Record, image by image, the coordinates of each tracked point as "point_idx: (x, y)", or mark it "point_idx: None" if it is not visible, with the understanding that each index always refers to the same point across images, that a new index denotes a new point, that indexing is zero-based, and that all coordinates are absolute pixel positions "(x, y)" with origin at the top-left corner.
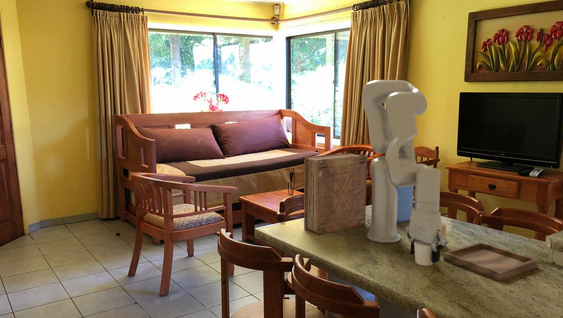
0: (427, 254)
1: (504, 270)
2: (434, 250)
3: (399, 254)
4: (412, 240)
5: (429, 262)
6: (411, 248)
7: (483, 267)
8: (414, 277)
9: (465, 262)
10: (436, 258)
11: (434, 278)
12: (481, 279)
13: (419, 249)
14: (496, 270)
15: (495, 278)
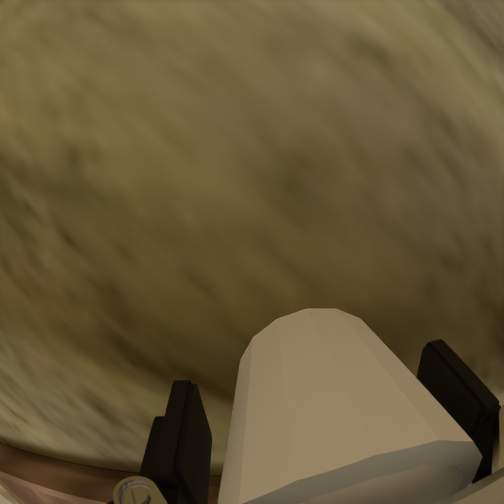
0: (238, 420)
1: (8, 489)
2: (151, 487)
3: (499, 294)
4: (502, 435)
5: (238, 381)
6: (461, 372)
7: (30, 481)
8: (84, 73)
9: None
10: (152, 428)
11: (19, 218)
12: (4, 418)
13: (329, 406)
14: (60, 498)
15: (3, 448)
